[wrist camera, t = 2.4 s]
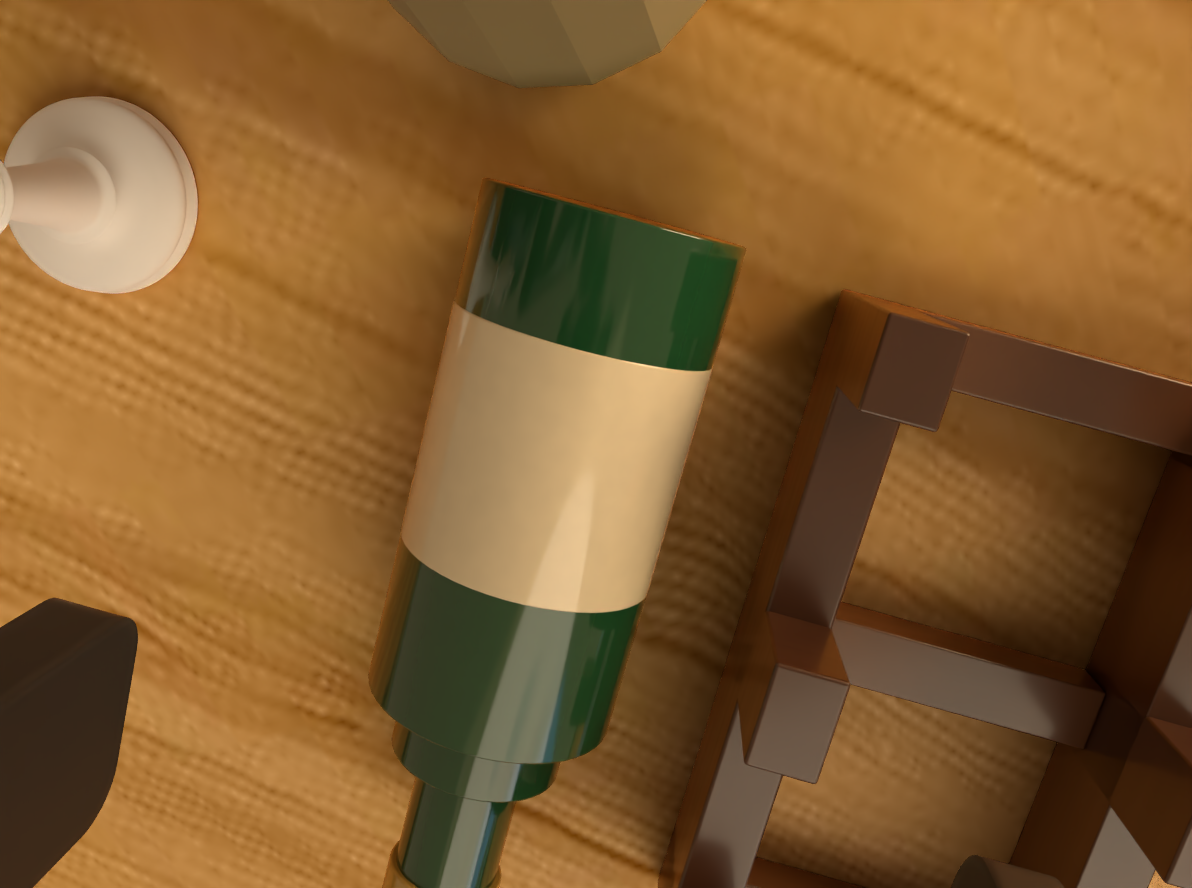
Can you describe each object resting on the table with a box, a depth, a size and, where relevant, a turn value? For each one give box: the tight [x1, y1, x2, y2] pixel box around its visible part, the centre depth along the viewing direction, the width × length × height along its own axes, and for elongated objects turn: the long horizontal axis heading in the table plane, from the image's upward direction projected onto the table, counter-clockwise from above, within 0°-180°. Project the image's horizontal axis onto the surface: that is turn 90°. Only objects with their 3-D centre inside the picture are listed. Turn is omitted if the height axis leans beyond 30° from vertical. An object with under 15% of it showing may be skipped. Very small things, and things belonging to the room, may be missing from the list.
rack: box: [658, 289, 1192, 888], centre depth 25 cm, size 11×17×6 cm, turn 165°
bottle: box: [368, 178, 746, 888], centre depth 26 cm, size 18×6×6 cm, turn 165°
